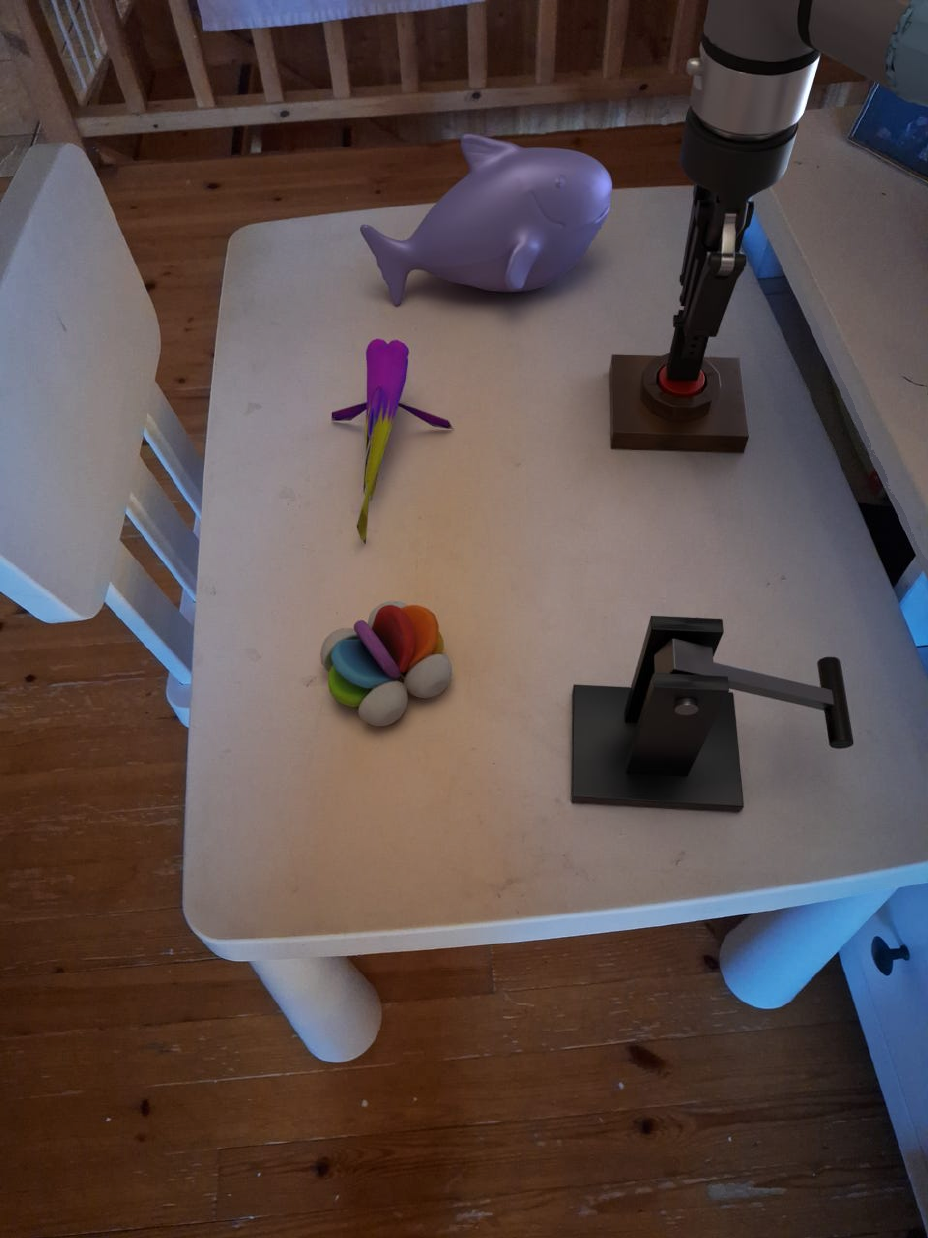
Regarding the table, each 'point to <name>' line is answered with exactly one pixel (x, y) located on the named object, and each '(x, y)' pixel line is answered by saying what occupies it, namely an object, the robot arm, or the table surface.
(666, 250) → the table surface
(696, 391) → the button
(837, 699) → the t-handle lever
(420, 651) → the fanned rainbow disc cluster
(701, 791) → the bracket
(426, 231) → the toy whale
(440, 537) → the table surface
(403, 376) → the toy
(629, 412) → the button block
